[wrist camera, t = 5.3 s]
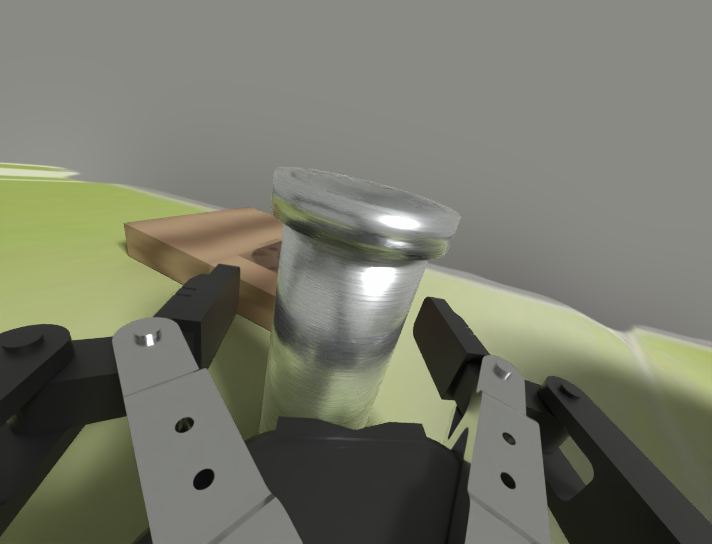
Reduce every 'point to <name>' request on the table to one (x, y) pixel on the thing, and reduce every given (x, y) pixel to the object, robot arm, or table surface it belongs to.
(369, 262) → the silver metal peg
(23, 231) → the table surface
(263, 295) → the block
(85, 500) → the table surface
